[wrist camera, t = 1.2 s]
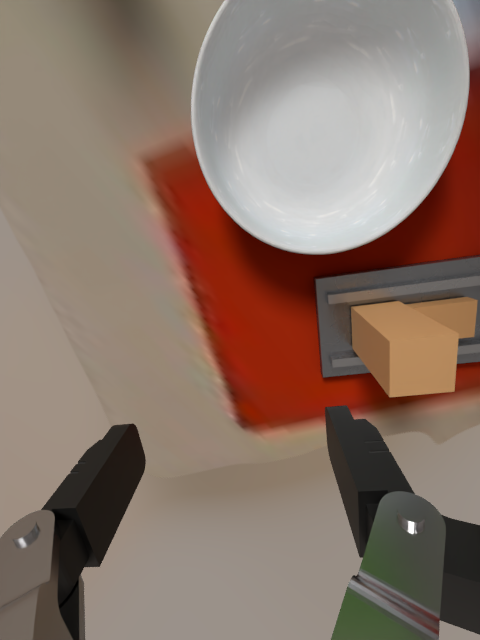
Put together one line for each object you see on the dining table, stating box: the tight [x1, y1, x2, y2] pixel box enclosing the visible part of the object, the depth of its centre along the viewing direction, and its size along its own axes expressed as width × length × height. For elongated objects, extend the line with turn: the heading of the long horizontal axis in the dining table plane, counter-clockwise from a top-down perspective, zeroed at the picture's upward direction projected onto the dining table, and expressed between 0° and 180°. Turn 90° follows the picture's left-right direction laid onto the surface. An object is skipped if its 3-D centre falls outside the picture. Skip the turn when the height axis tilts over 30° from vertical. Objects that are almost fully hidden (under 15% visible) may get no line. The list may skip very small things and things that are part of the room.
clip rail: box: [314, 255, 480, 377], centre depth 29 cm, size 26×12×8 cm, turn 99°
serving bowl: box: [191, 0, 470, 255], centre depth 25 cm, size 21×21×7 cm
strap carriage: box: [351, 297, 478, 397], centre depth 27 cm, size 12×5×10 cm, turn 99°
